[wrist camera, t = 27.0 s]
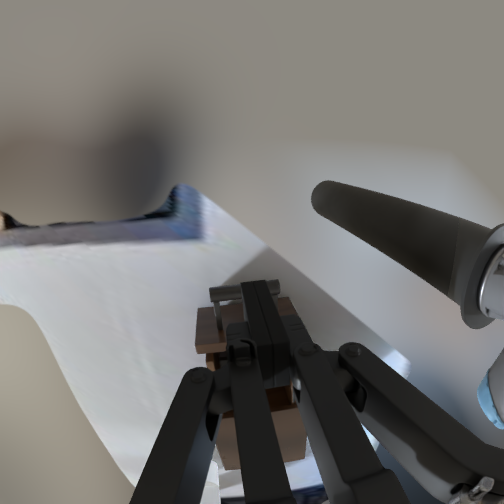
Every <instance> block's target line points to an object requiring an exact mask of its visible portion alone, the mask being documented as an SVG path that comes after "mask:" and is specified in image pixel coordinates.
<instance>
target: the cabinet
mask: <svg viewBox="0 0 504 504" xmlns="http://www.w3.org/2000/svg"><path fill="white" fill-rule="evenodd" d="M270 411H271V415H272V419H273V423H274V427H275V431H276V435H277V439H278V443H279V446H280V450H281V454H282V458H283V462H284V463H285V462H290V461H295V460H300V459H304V458H305V450H306V441H307V433H306V430H305V427H304V424H303V421H302V418H301V415H300V412H299V409H298V406H297V403H296V404H291V405H286V406H280V407H274V408H270ZM216 446H217V449H218V451H219V454H220V457H221V460H222V463H223V466H224V468H225V470H236V469H241V467H240V460H239V453H238V445H237V437H236V429H235V421H234V413H230V414H222V420H221V424H220V428H219V432H218V436H217V440H216Z"/></svg>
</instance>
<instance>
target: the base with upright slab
mask: <svg viewBox="0 0 504 504" xmlns="http://www.w3.org/2000/svg"><path fill="white" fill-rule="evenodd" d="M200 504H221V502H220V490H219V477H218V465H217V463H216V462H214V461H213V460H211V463H210V467H209V471H208V475H207V479H206V483H205V487H204V490H203V494H202V498H201V502H200Z"/></svg>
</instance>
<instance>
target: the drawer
mask: <svg viewBox="0 0 504 504" xmlns="http://www.w3.org/2000/svg"><path fill="white" fill-rule="evenodd" d="M266 283H267V286H268V288H269V291H270V293H271V296H272V298H273V300H274V303H275V305H276V308H277V310H278V313H279V315H280V316H282V315H289V314H295V315H297V316H298V314H297V312H296V310H295V308H294V306H293V305H292V303H291V301H290V299H289V297H284V298H278V295H277V294H280V284H279V281H278V279H277V280H269V281H266ZM209 293H210V300H211V302H213V304H214V307H205V308H198V312H197V324H196V337H195V348H196V352H197V354H205V353H206V365H207V368H208V369H210V370H211V371H215V370H218V369H220V363H219V357H220V352H224V351H226V345H227V339H226V328H227V326H228V324H229V323H236V322H244V312H243V303H239V304H231V305H223V306H220V303H219V301H228V300H236V299H242V294H241V284H237V285H228V286H220V287H211V288H209ZM298 317H299V316H298ZM265 391H266V395H267V399H268V403H269V407H270V408H274V407H280V406H286V405H291V404H296V400H295V402H293V384H292V381H291V378H290V385H287V386H281V387H275V386H274V388H269V389H265ZM230 413H233V409H232V410H230V411H227V412H224V413H222V414H230Z"/></svg>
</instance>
